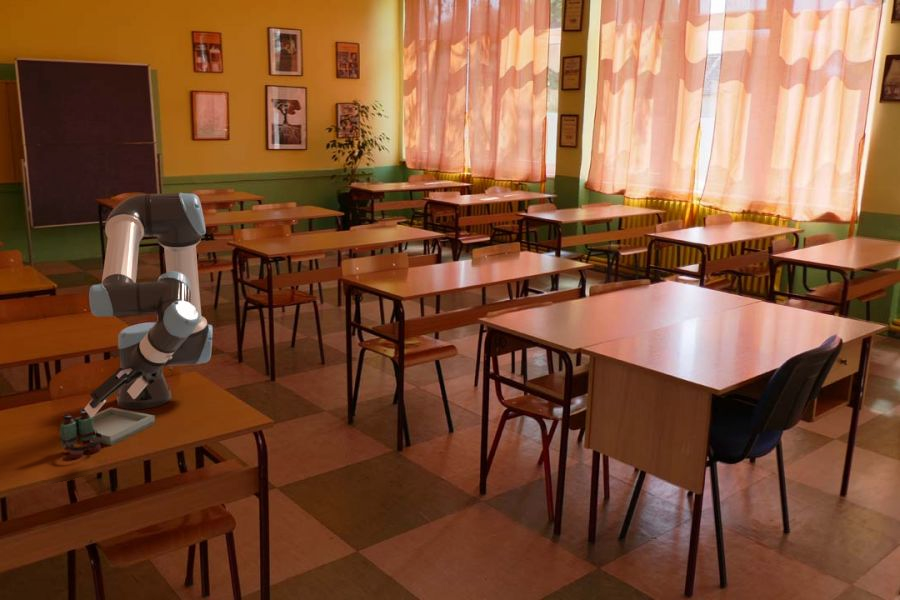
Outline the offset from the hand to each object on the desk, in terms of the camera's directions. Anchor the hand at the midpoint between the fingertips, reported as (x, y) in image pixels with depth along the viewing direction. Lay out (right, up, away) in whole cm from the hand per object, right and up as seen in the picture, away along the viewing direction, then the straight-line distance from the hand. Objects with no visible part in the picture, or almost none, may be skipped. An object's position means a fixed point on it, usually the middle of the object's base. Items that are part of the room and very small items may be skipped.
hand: (110, 403), depth 193 cm
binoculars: (-10, -14, +8) cm, 19 cm away
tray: (-9, -10, +22) cm, 26 cm away
